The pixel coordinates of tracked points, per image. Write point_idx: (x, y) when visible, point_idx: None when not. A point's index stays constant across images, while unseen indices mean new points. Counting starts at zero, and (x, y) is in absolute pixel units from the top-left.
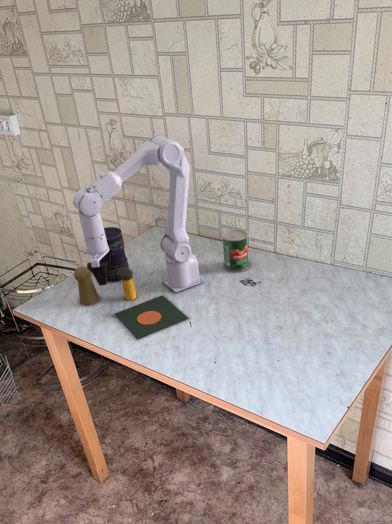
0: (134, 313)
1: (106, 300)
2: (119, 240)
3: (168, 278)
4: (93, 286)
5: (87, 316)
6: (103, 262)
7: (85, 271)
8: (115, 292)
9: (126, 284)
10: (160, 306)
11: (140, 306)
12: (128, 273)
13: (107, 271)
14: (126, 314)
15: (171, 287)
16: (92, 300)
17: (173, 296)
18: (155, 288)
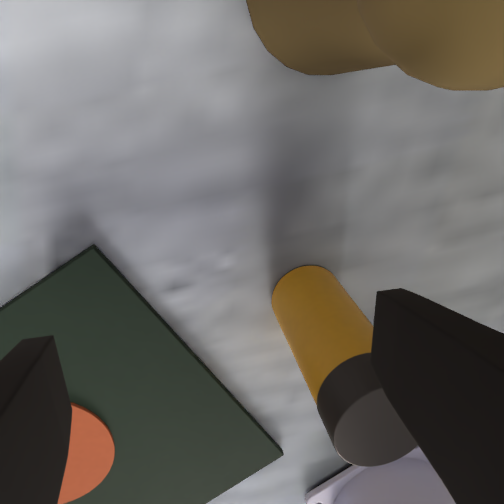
0: (94, 369)
1: (298, 137)
2: None
3: (391, 501)
4: (365, 66)
5: (65, 19)
6: (461, 414)
7: (462, 27)
8: (393, 181)
9: (307, 372)
10: (167, 474)
11: (176, 381)
12: (370, 448)
13: (376, 344)
14: (80, 326)
15: (347, 478)
16: (270, 35)
17: (272, 491)
18: None
